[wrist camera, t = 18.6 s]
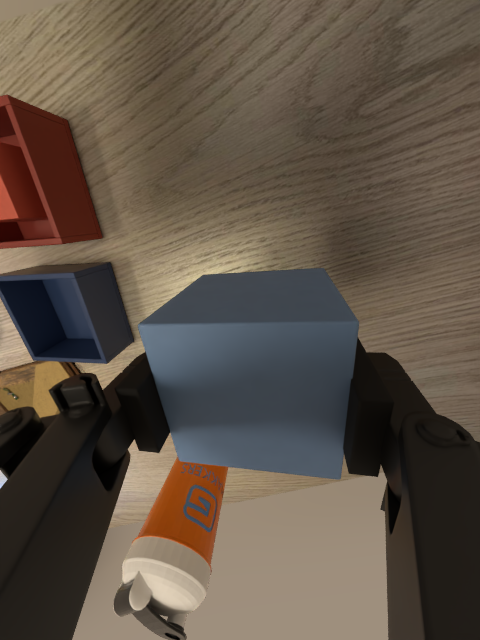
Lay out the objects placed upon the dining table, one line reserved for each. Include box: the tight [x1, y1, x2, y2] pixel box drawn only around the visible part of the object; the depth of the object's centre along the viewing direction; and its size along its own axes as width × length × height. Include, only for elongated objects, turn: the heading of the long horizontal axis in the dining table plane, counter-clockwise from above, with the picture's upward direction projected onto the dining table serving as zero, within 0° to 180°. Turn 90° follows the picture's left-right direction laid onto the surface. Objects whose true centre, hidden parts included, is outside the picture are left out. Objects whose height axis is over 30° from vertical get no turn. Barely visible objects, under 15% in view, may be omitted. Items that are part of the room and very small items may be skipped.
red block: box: [0, 142, 48, 222], centre depth 23 cm, size 6×6×6 cm
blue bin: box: [0, 262, 134, 364], centre depth 30 cm, size 11×11×6 cm
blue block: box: [138, 268, 359, 479], centre depth 10 cm, size 6×6×6 cm
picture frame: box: [0, 361, 79, 418], centre depth 43 cm, size 19×2×24 cm
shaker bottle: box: [113, 457, 228, 640], centre depth 30 cm, size 9×9×20 cm
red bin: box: [0, 95, 103, 249], centre depth 24 cm, size 11×11×6 cm
